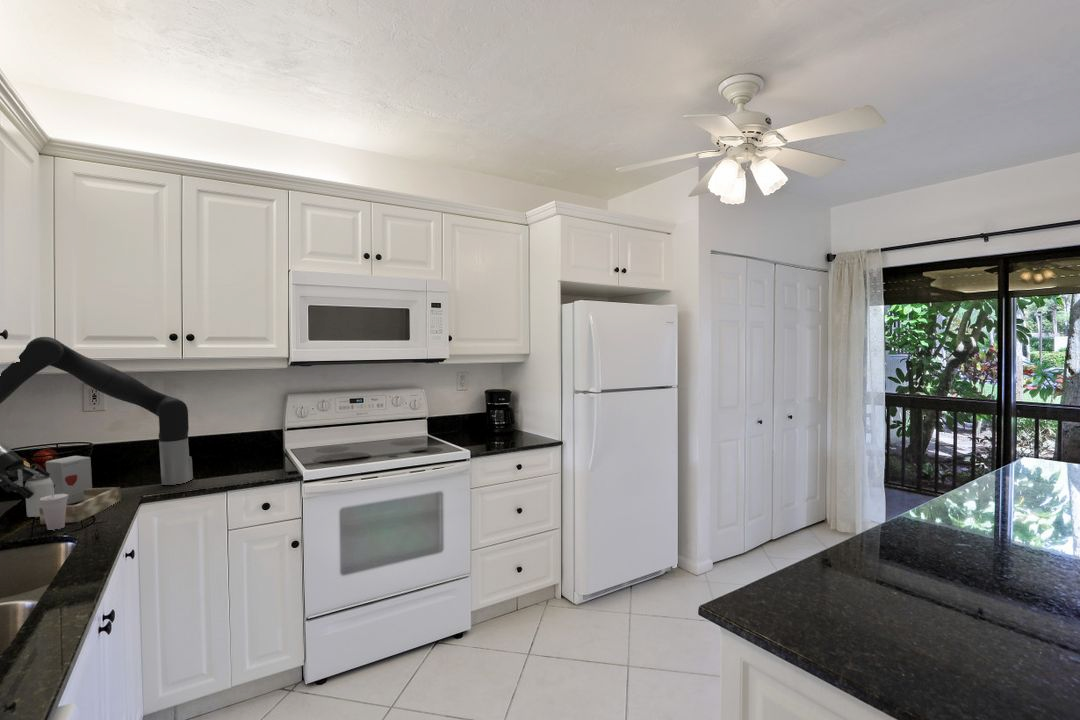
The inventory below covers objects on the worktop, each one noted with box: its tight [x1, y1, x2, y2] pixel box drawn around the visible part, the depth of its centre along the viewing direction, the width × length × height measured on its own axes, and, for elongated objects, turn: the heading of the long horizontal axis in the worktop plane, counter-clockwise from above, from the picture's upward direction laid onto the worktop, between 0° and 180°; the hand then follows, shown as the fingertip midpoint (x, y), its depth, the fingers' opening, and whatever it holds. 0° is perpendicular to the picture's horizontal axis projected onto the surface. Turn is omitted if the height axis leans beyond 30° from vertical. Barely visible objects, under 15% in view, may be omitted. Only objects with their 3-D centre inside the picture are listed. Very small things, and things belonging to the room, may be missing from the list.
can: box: [24, 476, 52, 518], centre depth 167 cm, size 6×6×12 cm
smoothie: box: [39, 483, 69, 531], centre depth 155 cm, size 6×6×14 cm
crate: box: [39, 486, 122, 525], centre depth 169 cm, size 20×10×5 cm, turn 8°
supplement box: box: [45, 455, 93, 506], centre depth 180 cm, size 9×9×15 cm
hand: (42, 492), depth 167 cm, fingers open, 8 cm apart
